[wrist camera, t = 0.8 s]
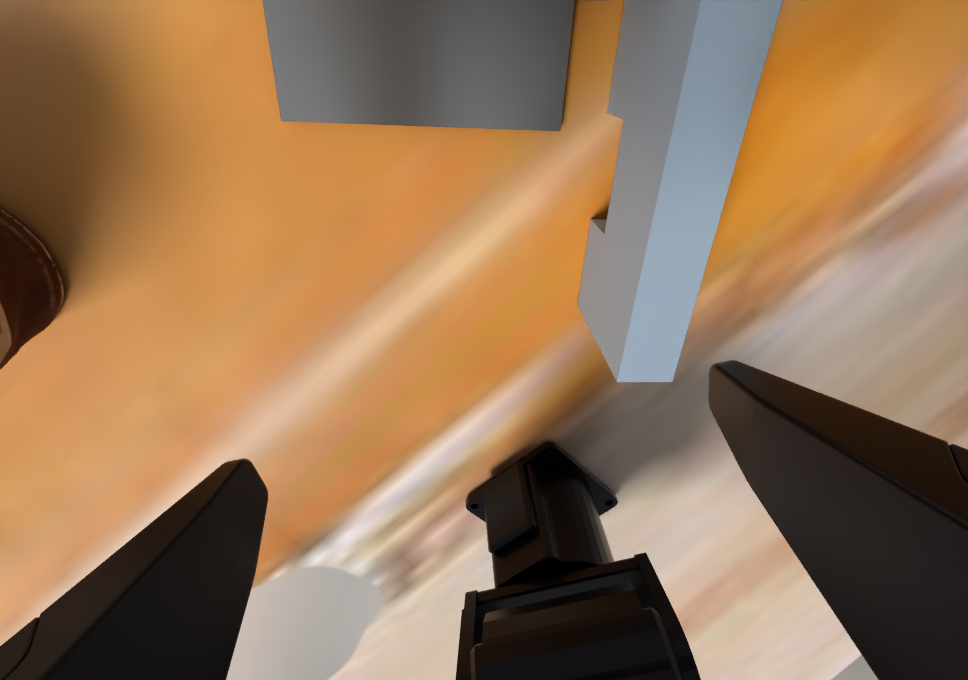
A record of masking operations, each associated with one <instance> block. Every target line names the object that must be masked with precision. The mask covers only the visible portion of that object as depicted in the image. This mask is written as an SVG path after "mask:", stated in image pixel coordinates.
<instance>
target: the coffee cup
mask: <svg viewBox="0 0 968 680" xmlns="http://www.w3.org/2000/svg"><path fill="white" fill-rule="evenodd" d="M63 298H64V288H63V283H62V279H61V276H60V274H59V272H58V269H57V267H56V266H55V264H54V262H53V260H52V258H51V256H50V255H49V253H48V251H47V249H46V248H45V247H44V245H43V244H42V243H41V242H40V241H39V240H38V239H37V238H36V237H35V236H34V235H33V234H32V233H31V232H30V231H29V230H28V229H27V228H26V227H25V226H24V225H22V224H21V223H20V222H18V221H17V220H16V219H15V218H13V217H12V216H10V215H9V214H7V213H6V212H5V211H3V210H2V209H0V369H1V368H3V367H4V366H5V365H6V363H7V362H8V361H9V360H10V359H11V358H12V357H13V356H14V355H15V354H17V352H18V351H19V349H20V348H21V347H22V346H23V345H24V344H25V343H26V342H28V341H29V340H30V339H31V338H33V337H34V336H36V335H37V334H39V333H40V332H42V331H43V330H44V329H45V328H47V327H48V326H49V325H50V324H51V322H52V321H53V320H54V319H55V317H56V315H57V313H58V311H59V309H60V307H61V304H62V302H63Z"/></svg>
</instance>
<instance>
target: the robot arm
mask: <svg viewBox="0 0 968 680" xmlns="http://www.w3.org/2000/svg"><path fill="white" fill-rule="evenodd" d="M709 405H710V409H711V411H712V414H713V416H714V417H715V419H716V421H717V423H718V425H719V427H720V429H721V431H722V433H723V435H724V437H725V439H726V441H727V443H728V445H729V447H730V449H731V451H732V453H733V455H734V457H735V459H736V461H737V463H738V465H739V467H740V469H741V470H742V472H743V474H744V476H745V478H746V480H747V481H748V483H749V485H750V486H751V488H752V489H753V491H754V492H755V494H756V496H757V497H758V499H759V500H760V502H761V503H762V505H763V506H764V508H765V509H766V511H767V512H768V514H769V515H770V517H771V518H772V520H773V521H774V523H775V524H776V526H777V527H778V529H779V530H780V532H781V533H782V535H783V536H784V538H785V539H786V541H787V542H788V544H789V545H790V547H791V548H792V550H793V551H794V553H795V554H796V556H797V557H798V559H799V560H800V562H801V563H802V565H803V566H804V568H805V569H806V571H807V573H808V574H809V576H810V577H811V579H812V580H813V582H814V583H815V585H816V586H817V588H818V589H819V591H820V592H821V594H822V595H823V597H824V598H825V600H826V601H827V603H828V604H829V606H830V607H831V609H832V610H833V612H834V613H835V615H836V616H837V618H838V619H839V621H840V622H841V624H842V625H843V627H844V628H845V630H846V631H847V633H848V634H849V636H850V637H851V639H852V640H853V642H854V643H855V645H856V646H857V648H858V650H859V651H860V653H861V654H862V656H863V657H864V658H865V660H866V662H867V663H868V665H869V666H870V668H871V669H872V671H873V672H874V674H875V675H876V677H877V678H878V680H968V449H965V448H963V447H960V446H957V445H955V444H951V445H949V444H948V442H946V441H944V440H941V439H939V438H936V437H934V436H931V435H928V434H926V433H923V432H921V431H918V430H915V429H913V428H910V427H908V426H905V425H902V424H900V423H897V422H895V421H892V420H889V419H887V418H884V417H882V416H879V415H876V414H874V413H871V412H868V411H866V410H863V409H861V408H858V407H855V406H853V405H850V404H848V403H845V402H842V401H840V400H837V399H835V398H832V397H829V396H827V395H824V394H822V393H819V392H816V391H814V390H811V389H809V388H806V387H803V386H801V385H798V384H796V383H793V382H790V381H788V380H785V379H782V378H780V377H777V376H775V375H772V374H769V373H767V372H764V371H762V370H759V369H756V368H754V367H751V366H749V365H746V364H743V363H741V362H738V361H735V360H731V361H726V362H721V363H716V364H713V365H712V366H711V368H710V372H709ZM549 450H552V451H551V452H547V451H549ZM267 503H268V491H267V488H266V486H265V484H264V482H263V481H262V479H261V477H260V475H259V474H258V472H257V470H256V469H255V467H254V465H253V464H252V462H251V461H249V460H248V459H238V460H233V461H229V462H226V463H224V464H222V465H221V466H220V467H219V468H217V469H216V470H215V471H214V472H213V473H211V474H210V475H209V476H208V477H207V478H205V479H204V480H203V481H202V482H200V483H199V484H198V485H197V486H196V487H194V488H193V489H192V490H191V491H189V492H188V493H187V494H186V495H185V496H183V497H182V498H181V499H180V500H178V501H177V502H176V503H175V504H174V505H172V506H171V507H170V508H169V509H168V510H166V511H165V512H164V513H163V514H161V515H160V516H159V517H158V518H157V519H155V520H154V521H153V522H152V523H150V524H149V525H148V526H147V527H146V528H144V529H143V530H142V531H141V532H139V533H138V534H137V535H136V536H135V537H133V538H132V539H131V540H130V541H129V542H127V543H126V544H125V545H124V546H122V547H121V548H120V549H119V550H118V551H116V552H115V553H114V554H113V555H111V556H110V557H109V558H108V559H107V560H105V561H104V562H103V563H102V564H100V565H99V566H98V567H97V568H96V569H94V570H93V571H92V572H91V573H90V574H88V575H87V576H86V577H85V578H83V579H82V580H81V581H80V582H79V583H77V584H76V585H75V586H74V587H72V588H71V589H70V590H69V591H68V592H66V593H65V594H64V595H63V596H61V597H60V598H59V599H58V600H57V601H55V602H54V603H53V604H52V605H51V606H49V607H48V608H47V609H46V610H44V611H43V612H42V613H41V614H40V617H37V618H35V619H33V620H32V621H31V622H30V623H28V624H27V625H26V626H25V627H24V628H22V629H21V630H20V631H19V632H17V633H16V634H15V635H14V636H13V637H11V638H10V639H9V640H8V641H6V642H5V643H4V644H3V645H1V646H0V680H226V678H227V674H228V670H229V667H230V663H231V660H232V656H233V652H234V649H235V645H236V642H237V638H238V634H239V631H240V627H241V624H242V620H243V616H244V612H245V609H246V606H247V602H248V598H249V595H250V591H251V588H252V584H253V580H254V576H255V572H256V567H257V562H258V556H259V550H260V544H261V538H262V532H263V526H264V520H265V515H266V509H267ZM473 503H476V504H473ZM617 503H618V502H617V498H616V495H615V494H614V493H613V492H612V491H611V490H610V489H609V488H608V487H606V486H605V485H604V484H603V483H602V482H600V481H599V480H598V479H597V478H596V477H595V476H593V475H592V474H591V473H590V472H589V471H588V470H586V469H585V468H584V467H583V466H582V465H581V464H579V463H578V462H577V461H576V460H575V459H573V458H572V457H571V456H570V455H569V454H568V453H566V452H565V451H564V450H563V449H562V448H561V447H559V446H558V445H557V444H556V443H554V442H546V443H544V444H542V445H541V446H539V447H538V448H537V449H535V450H534V451H532V452H531V453H529V454H528V455H527V456H525V457H524V458H522V459H521V460H519V461H518V462H517V463H515V464H514V465H512V466H511V467H510V468H508V469H507V470H505V471H504V472H502V473H501V474H500V475H498V476H497V477H495V478H494V479H493V480H491V481H490V482H488V483H487V484H485V485H484V486H483V487H481V488H480V489H478V490H477V491H476V492H474V493H473V494H471V495H470V496H468V497H467V499H466V508H467V510H468V511H470V512H471V513H473V514H474V515H476V516H477V517H479V518H480V519H482V520H483V521H485V522H486V526H487V538H488V550H489V552H490V553H492V561H493V572H494V583H495V588H494V589H489V590H485V591H480V592H478V591H477V590H475V591H471V592H466V595H465V606H464V609H462V617H461V628H460V639H459V650H458V661H457V672H456V680H701V679H700V676H699V673H698V669H697V666H696V664H695V661H694V658H693V655H692V652H691V649H690V647H689V644H688V641H687V639H686V636H685V634H684V631H683V629H682V627H681V625H680V622H679V620H678V618H677V616H676V614H675V612H674V610H673V608H672V606H671V603H670V601H669V599H668V597H667V595H666V593H665V591H664V589H663V587H662V585H661V583H660V581H659V579H658V577H657V575H656V573H655V570H654V568H653V566H652V564H651V562H650V560H649V558H648V556H647V554H646V553H641V554H637V555H634V557H633V558H629V559H624V560H620V561H615V562H614V559H613V556H612V553H611V550H610V547H609V544H608V541H607V538H606V535H605V532H604V529H603V526H602V523H601V520H600V517H599V516H600V515H602V514H603V513H605V512H607V511H608V510H610V509H611V508H613V507H614V506H616V505H617Z"/></svg>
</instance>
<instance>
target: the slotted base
mask: <svg viewBox="0 0 968 680" xmlns="http://www.w3.org/2000/svg"><path fill="white" fill-rule="evenodd" d="M593 1H607V0H593ZM574 4H575V0H263V6H264V13H265V19H266V26H267V32H268V39H269V45H270V52H271V58H272V64H273V71H274V77H275V84H276V90H277V97H278V103H279V110H280V116H281V121H296V122H323V123H350V124H378V125H405V126H433V127H460V128H487V129H515V130H542V131H560V129H561V120H562V111H563V102H564V94H565V85H566V76H567V67H568V58H569V49H570V40H571V31H572V22H573V13H574Z"/></svg>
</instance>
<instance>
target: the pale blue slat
mask: <svg viewBox="0 0 968 680" xmlns="http://www.w3.org/2000/svg"><path fill="white" fill-rule="evenodd" d="M782 2H783V0H624V7H623V13H622V20H621V26H620V33H619V39H618V46H617V52H616V59H615V65H614V72H613V78H612V85H611V91H610V97H609V104H608V110H607V113H609V114H611V115H614V116H617V117H619V118H622V119H624V122H623V128H622V134H621V139H620V145H619V151H618V157H617V163H616V169H615V174H614V180H613V186H612V192H611V198H610V204H609V209H608V215H607V219H591V220H590V227H589V233H588V240H587V246H586V253H585V259H584V266H583V272H582V279H581V285H580V292H579V298H578V305H577V306H578V308H579V310H580V312H581V314H582V316H583V318H584V319H585V321H586V323H587V325H588V327H589V329H590V331H591V333H592V335H593V337H594V339H595V341H596V343H597V345H598V346H599V348H600V350H601V352H602V354H603V356H604V358H605V360H606V362H607V364H608V366H609V368H610V370H611V372H612V373H613V375H614V377H615V379H616V381H617V382H672V381H673V378H674V374H675V371H676V368H677V364H678V361H679V357H680V354H681V350H682V347H683V343H684V340H685V336H686V333H687V330H688V326H689V323H690V319H691V316H692V312H693V309H694V305H695V302H696V299H697V295H698V292H699V288H700V285H701V281H702V278H703V274H704V271H705V267H706V264H707V261H708V257H709V254H710V250H711V247H712V243H713V240H714V236H715V233H716V229H717V226H718V223H719V219H720V216H721V212H722V209H723V205H724V202H725V198H726V195H727V192H728V188H729V185H730V181H731V178H732V174H733V171H734V167H735V164H736V160H737V157H738V154H739V150H740V147H741V143H742V140H743V136H744V133H745V129H746V126H747V123H748V119H749V116H750V112H751V109H752V105H753V102H754V98H755V95H756V91H757V88H758V85H759V81H760V78H761V74H762V71H763V67H764V64H765V60H766V57H767V53H768V50H769V47H770V43H771V40H772V36H773V33H774V29H775V26H776V22H777V19H778V16H779V12H780V9H781V5H782Z"/></svg>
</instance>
